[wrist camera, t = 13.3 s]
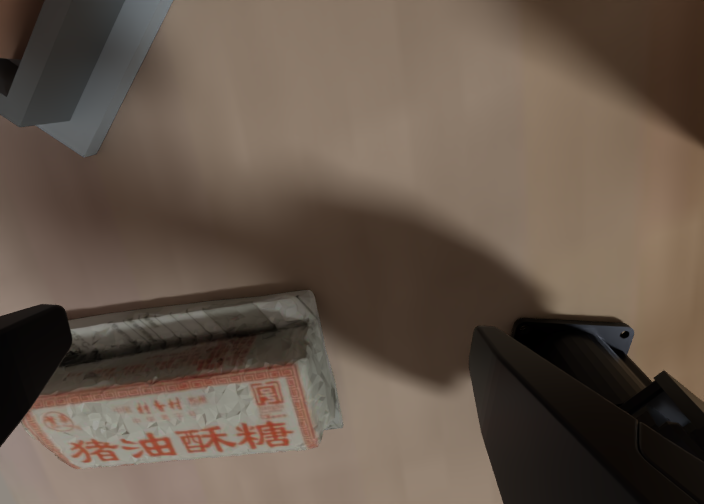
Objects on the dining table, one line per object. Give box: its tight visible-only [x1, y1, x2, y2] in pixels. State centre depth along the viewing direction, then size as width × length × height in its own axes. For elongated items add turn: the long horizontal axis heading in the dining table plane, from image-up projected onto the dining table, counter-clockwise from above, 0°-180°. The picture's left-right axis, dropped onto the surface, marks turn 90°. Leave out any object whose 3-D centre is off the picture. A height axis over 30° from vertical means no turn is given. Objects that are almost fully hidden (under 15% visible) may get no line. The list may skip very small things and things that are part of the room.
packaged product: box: [21, 290, 343, 469], centre depth 24 cm, size 18×5×10 cm
